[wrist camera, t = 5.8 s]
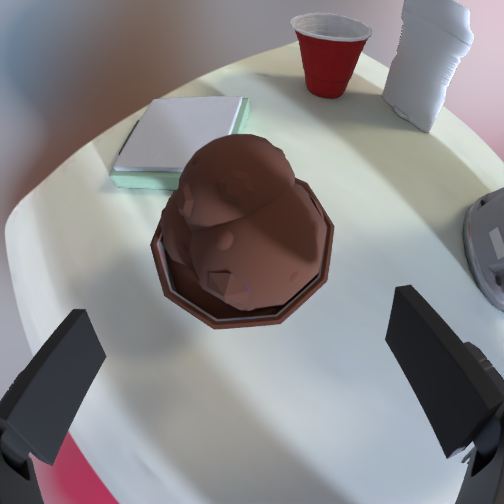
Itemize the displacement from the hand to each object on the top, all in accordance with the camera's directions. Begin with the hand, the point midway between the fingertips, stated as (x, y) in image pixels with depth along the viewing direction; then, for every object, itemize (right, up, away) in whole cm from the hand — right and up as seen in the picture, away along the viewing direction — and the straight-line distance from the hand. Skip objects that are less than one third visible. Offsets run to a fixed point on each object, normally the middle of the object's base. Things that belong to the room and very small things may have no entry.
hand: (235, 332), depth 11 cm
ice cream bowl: (+1, 0, +14) cm, 14 cm away
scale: (-8, +16, +22) cm, 28 cm away
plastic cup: (+12, +28, +25) cm, 39 cm away
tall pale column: (+24, +24, +23) cm, 41 cm away
